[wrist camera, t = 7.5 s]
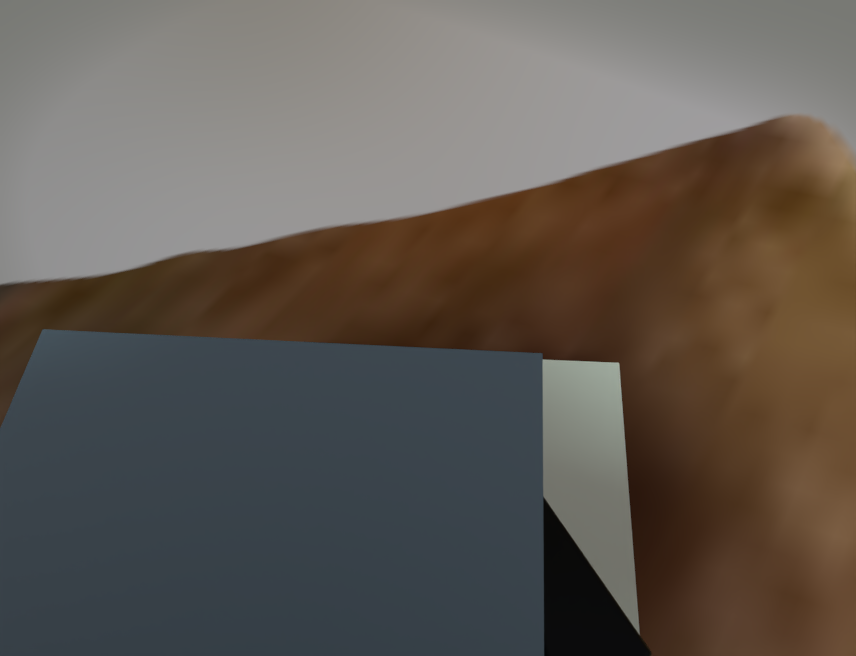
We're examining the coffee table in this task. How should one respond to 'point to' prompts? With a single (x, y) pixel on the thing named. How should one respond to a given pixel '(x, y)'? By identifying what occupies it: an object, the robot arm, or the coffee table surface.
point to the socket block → (590, 469)
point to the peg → (271, 499)
